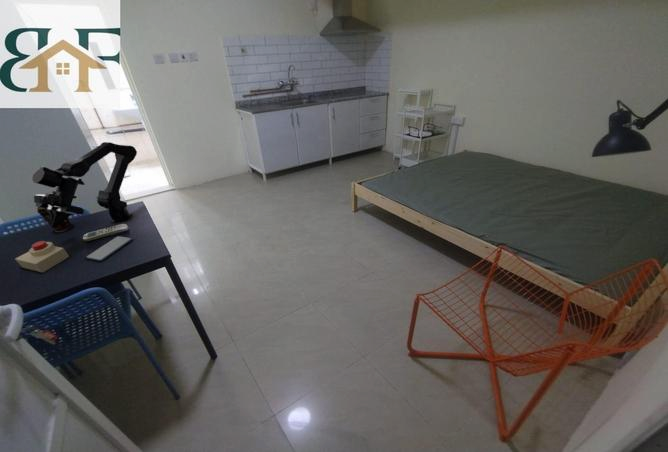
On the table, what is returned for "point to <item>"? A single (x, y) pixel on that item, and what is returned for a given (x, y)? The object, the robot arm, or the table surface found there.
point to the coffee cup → (60, 228)
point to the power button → (39, 245)
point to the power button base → (42, 258)
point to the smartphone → (109, 248)
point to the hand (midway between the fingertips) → (53, 227)
